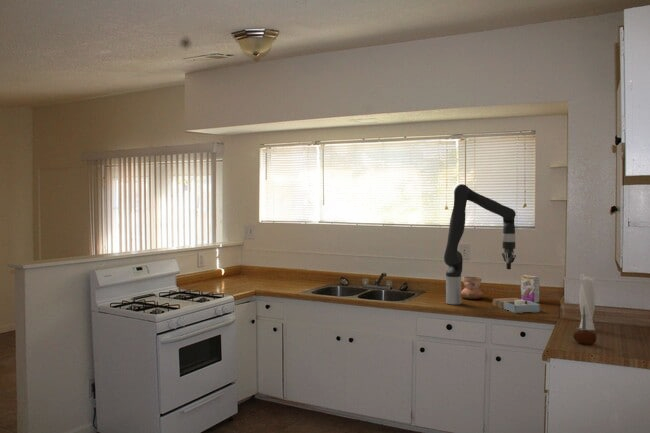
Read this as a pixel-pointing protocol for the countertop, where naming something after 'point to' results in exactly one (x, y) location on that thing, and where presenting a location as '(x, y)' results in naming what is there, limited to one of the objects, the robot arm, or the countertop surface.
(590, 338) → the potato
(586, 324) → the white statue
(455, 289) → the robot arm
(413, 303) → the countertop surface
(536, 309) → the tray
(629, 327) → the countertop surface
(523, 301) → the tile
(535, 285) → the candy bar box
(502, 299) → the board
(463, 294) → the ceramic jug
